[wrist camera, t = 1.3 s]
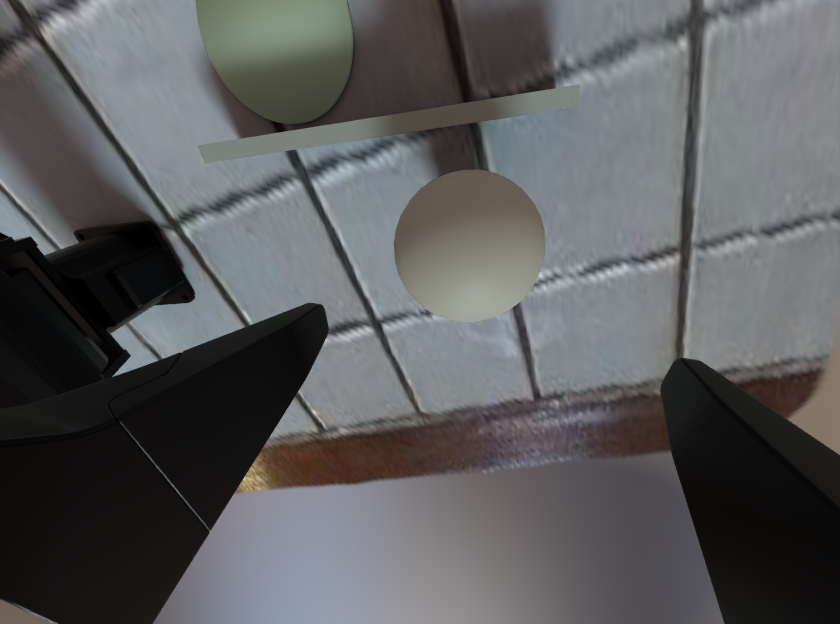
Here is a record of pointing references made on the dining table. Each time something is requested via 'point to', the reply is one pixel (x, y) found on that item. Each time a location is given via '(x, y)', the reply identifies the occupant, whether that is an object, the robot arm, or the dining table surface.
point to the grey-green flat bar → (396, 124)
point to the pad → (280, 53)
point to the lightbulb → (469, 245)
